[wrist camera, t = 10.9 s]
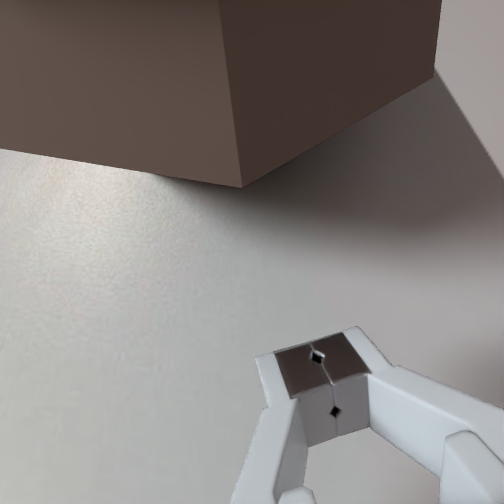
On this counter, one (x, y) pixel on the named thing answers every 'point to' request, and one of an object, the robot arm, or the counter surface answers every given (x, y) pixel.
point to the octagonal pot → (203, 78)
